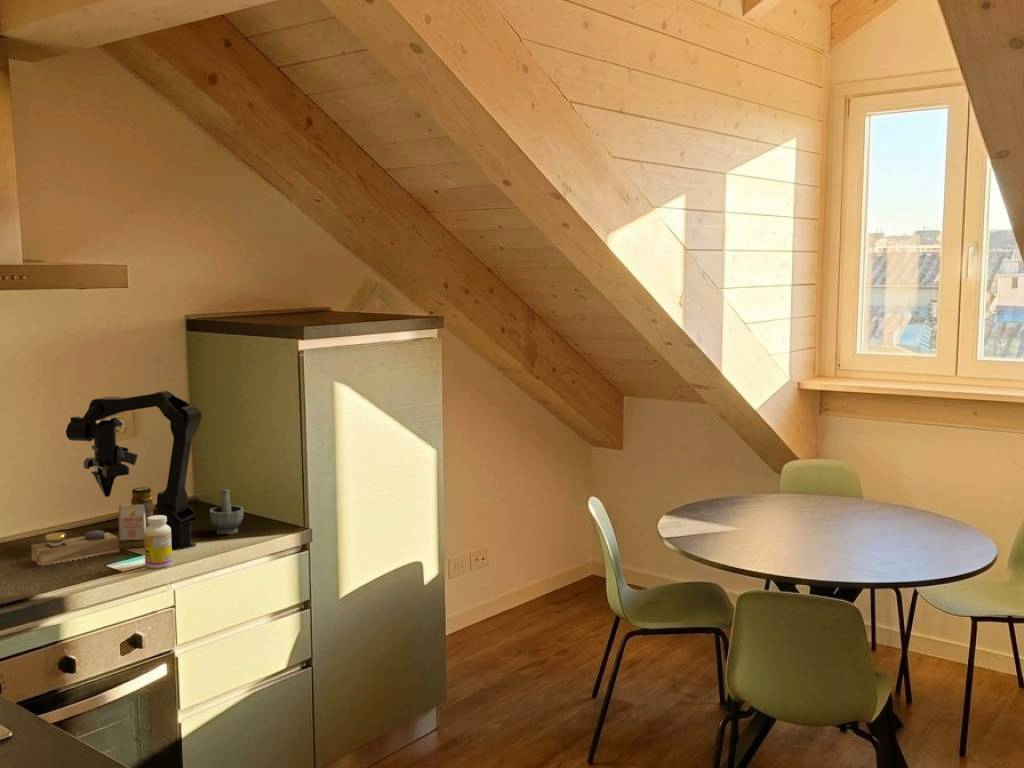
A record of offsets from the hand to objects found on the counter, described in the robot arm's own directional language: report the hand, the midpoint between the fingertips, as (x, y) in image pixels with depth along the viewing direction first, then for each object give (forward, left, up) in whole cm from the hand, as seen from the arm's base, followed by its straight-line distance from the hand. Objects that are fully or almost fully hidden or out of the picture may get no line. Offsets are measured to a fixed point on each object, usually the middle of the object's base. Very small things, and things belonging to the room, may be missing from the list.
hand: (107, 496), depth 274 cm
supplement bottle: (-32, -1, -13) cm, 35 cm away
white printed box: (-2, -6, -13) cm, 15 cm away
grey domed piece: (-9, +7, -12) cm, 16 cm away
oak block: (-9, +12, -13) cm, 20 cm away
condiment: (+8, -13, -13) cm, 20 cm away
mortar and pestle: (-12, -30, -13) cm, 35 cm away
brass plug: (-9, +17, -11) cm, 22 cm away
